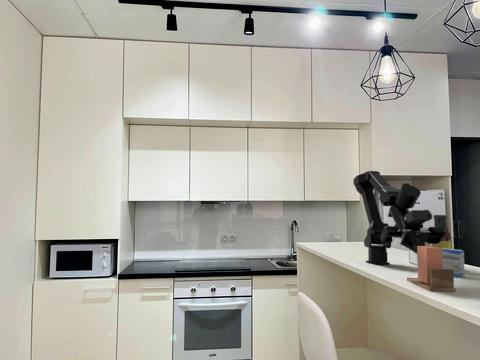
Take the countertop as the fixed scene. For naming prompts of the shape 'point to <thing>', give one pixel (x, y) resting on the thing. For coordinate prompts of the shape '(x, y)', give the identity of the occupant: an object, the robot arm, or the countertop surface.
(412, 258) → the syrup box
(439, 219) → the sauce bottle
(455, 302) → the countertop surface
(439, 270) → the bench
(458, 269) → the medicine box
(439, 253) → the pink tall block
